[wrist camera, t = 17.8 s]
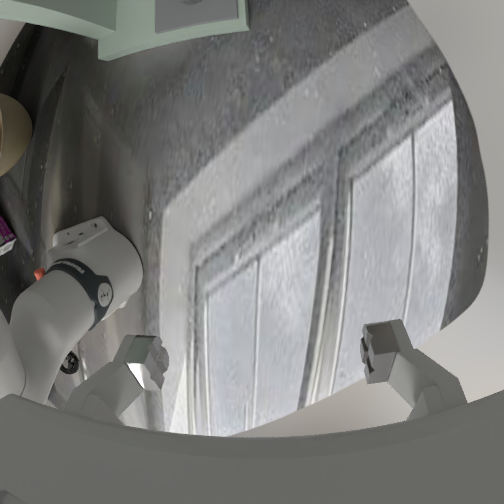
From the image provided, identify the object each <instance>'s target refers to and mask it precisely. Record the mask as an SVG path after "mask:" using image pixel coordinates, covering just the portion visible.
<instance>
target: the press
mask: <svg viewBox="0 0 504 504" xmlns="http://www.w3.org/2000/svg"><path fill="white" fill-rule="evenodd" d="M0 18H1V19H8V20H16V21H21V22H27V23H32V24H37V25H42V26H47V27H51V28H56V29H60V30H64V31H68V32H72V33H76V34H80V35H83V36H87V37H90V38H94V39H97V40H98V59H101V60H105V61H110V60H113V59H116V58H119V57H122V56H126V55H129V54H132V53H135V52H139V51H142V50H146V49H150V48H153V47H157V46H161V45H165V44H170V43H174V42H178V41H183V40H188V39H193V38H198V37H204V36H210V35H216V34H223V33H231V32H239V31H248V30H250V28H249V14H248V1H247V0H202V1H201V2H199V3H196V4H192V5H186V4H183V3H181V2H180V1H178V0H0Z"/></svg>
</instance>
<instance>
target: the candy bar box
mask: <svg viewBox="0 0 504 504" xmlns="http://www.w3.org/2000/svg"><path fill="white" fill-rule="evenodd" d="M15 240H16V236H15V235H14V234H13V232H12V231H11V229H10V228H9V226H8V225H7V223H6V222H5V220H4V219H3V217H2V216H1V214H0V256H1V255H2V254H4V253H6V252H8V251H9V250H11V249H12V248H13V246H14V243H15Z"/></svg>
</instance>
